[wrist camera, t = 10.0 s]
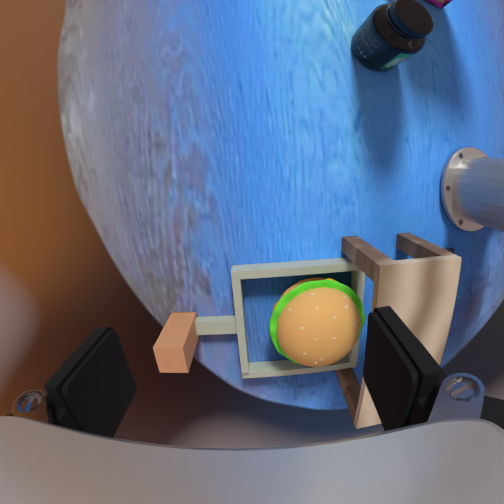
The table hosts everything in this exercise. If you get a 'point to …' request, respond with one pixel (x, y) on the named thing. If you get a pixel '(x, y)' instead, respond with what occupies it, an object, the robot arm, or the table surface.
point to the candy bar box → (439, 2)
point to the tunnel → (404, 302)
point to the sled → (190, 326)
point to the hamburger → (316, 321)
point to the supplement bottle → (391, 34)
